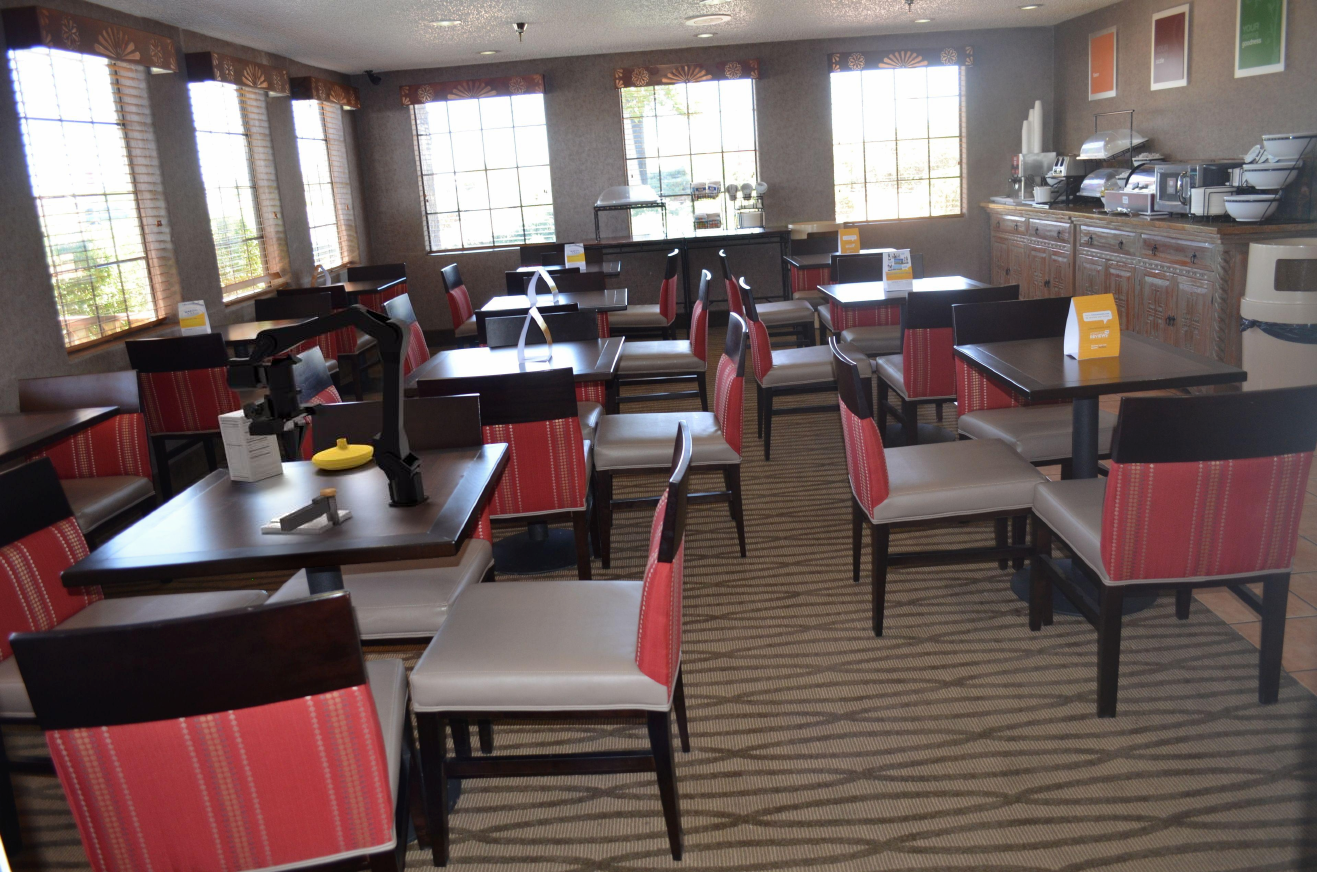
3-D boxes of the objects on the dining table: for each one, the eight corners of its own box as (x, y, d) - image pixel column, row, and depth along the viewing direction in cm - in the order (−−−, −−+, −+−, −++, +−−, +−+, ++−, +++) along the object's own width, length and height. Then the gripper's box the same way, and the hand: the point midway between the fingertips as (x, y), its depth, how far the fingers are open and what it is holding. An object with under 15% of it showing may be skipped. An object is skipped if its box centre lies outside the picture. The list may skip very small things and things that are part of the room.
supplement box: (284, 472, 243) (272, 408, 239) (253, 483, 236) (239, 416, 232) (261, 470, 249) (249, 407, 245) (229, 480, 241) (216, 415, 237)
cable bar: (329, 505, 197) (326, 488, 196) (342, 506, 196) (339, 488, 195) (278, 531, 183) (275, 512, 182) (292, 531, 182) (289, 512, 181)
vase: (366, 472, 237) (361, 445, 235) (303, 477, 237) (298, 450, 236) (385, 456, 252) (381, 430, 250) (326, 460, 253) (322, 434, 251)
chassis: (354, 515, 200) (349, 487, 199) (322, 533, 190) (317, 504, 189) (295, 515, 205) (290, 487, 203) (261, 532, 195) (255, 504, 193)
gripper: (278, 379, 212) (290, 447, 216) (219, 397, 195) (234, 470, 198) (321, 377, 209) (333, 446, 213) (265, 395, 192) (279, 470, 195)
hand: (295, 458), depth 205 cm, fingers closed
